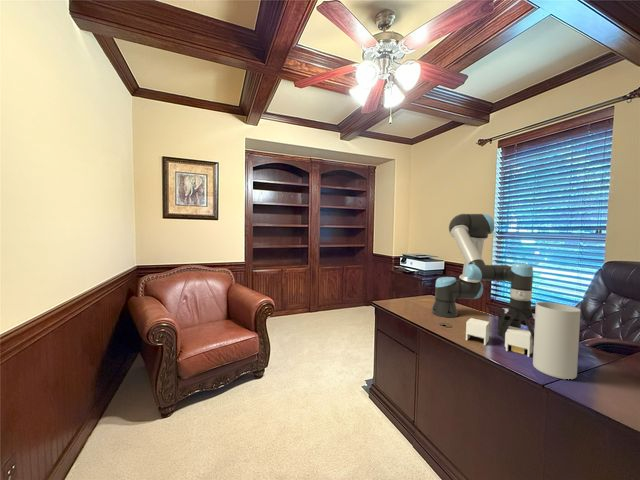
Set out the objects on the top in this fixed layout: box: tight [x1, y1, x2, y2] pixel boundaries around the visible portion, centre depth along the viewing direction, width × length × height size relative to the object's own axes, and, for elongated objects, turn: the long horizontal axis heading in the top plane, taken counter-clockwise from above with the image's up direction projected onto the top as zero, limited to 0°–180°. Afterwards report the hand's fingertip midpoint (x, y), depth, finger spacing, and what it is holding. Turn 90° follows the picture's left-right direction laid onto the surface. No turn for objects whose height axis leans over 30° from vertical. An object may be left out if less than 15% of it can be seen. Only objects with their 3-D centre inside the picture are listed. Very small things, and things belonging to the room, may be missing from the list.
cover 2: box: [505, 326, 532, 358], centre depth 116 cm, size 8×8×9 cm
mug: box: [496, 315, 522, 337], centre depth 134 cm, size 9×12×9 cm
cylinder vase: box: [532, 301, 581, 381], centre depth 99 cm, size 12×12×25 cm
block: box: [510, 345, 526, 355], centre depth 116 cm, size 4×4×4 cm
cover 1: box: [465, 317, 491, 346], centre depth 127 cm, size 8×8×9 cm
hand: (518, 349), depth 117 cm, fingers closed on cover 2, 8 cm apart
